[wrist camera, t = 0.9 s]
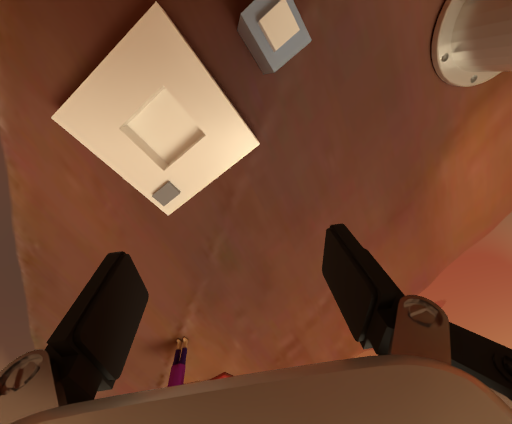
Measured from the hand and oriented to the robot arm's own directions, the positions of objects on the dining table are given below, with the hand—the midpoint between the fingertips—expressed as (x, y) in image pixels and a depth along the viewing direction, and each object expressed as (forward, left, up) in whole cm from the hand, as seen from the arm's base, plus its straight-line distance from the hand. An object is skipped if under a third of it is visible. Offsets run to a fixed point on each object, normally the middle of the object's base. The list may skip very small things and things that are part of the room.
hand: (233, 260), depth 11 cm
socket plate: (+5, -6, -23) cm, 24 cm away
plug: (-10, -6, -23) cm, 26 cm away
